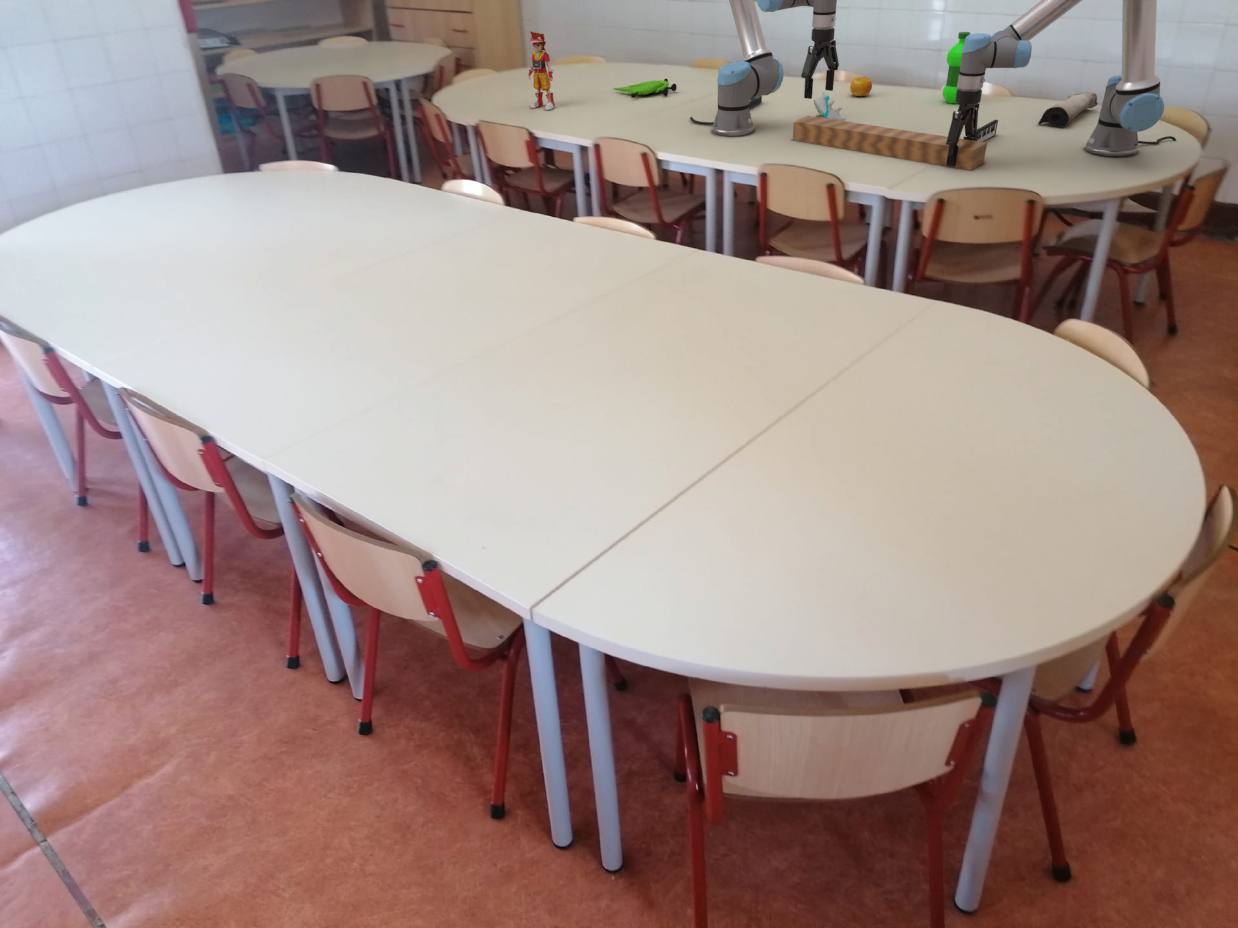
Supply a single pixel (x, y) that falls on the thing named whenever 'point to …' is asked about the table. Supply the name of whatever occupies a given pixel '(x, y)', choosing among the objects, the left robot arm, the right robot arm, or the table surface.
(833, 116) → the anatomical model
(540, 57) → the toy
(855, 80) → the fruit
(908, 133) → the wide beam
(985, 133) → the midi keyboard
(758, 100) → the disk drive
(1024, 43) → the right robot arm
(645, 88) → the toy
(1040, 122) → the rolled mat
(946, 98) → the plastic bottle
